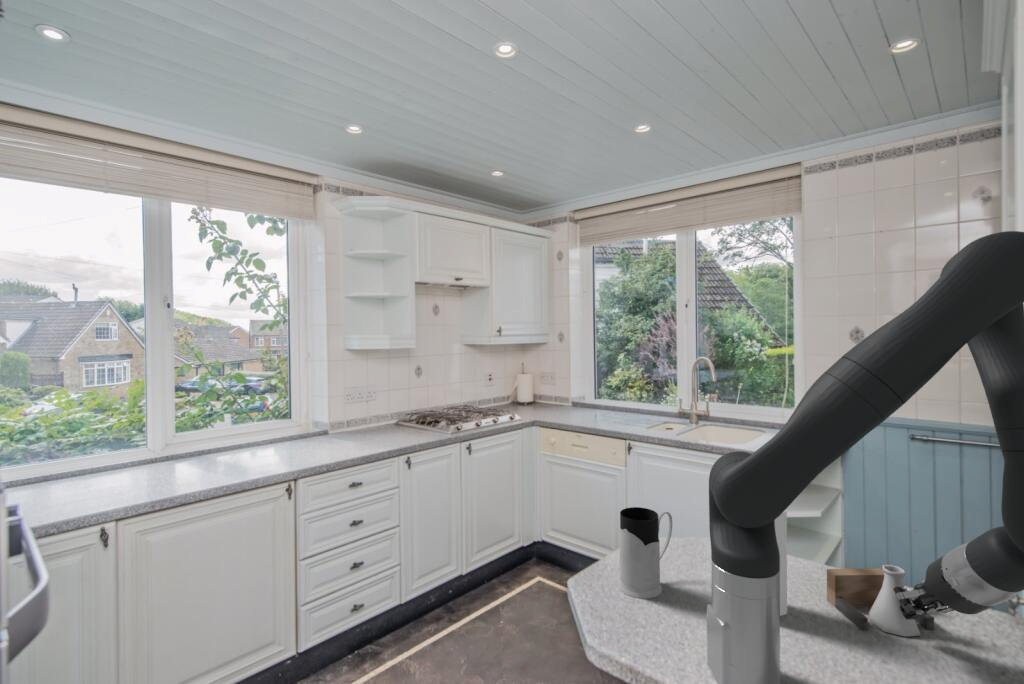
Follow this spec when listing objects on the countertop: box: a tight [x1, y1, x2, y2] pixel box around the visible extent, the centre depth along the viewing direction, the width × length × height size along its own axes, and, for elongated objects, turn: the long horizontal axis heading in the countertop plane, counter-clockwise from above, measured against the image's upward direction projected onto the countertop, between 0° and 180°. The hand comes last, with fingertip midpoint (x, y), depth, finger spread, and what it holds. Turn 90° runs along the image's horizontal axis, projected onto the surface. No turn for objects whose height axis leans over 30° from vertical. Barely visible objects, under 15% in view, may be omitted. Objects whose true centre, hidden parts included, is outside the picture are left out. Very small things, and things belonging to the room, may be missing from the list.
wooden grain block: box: [826, 567, 935, 631], centre depth 91 cm, size 12×10×6 cm
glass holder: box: [617, 506, 673, 600], centre depth 103 cm, size 9×14×15 cm, turn 123°
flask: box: [868, 564, 921, 637], centre depth 87 cm, size 7×7×10 cm
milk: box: [775, 510, 788, 617], centre depth 93 cm, size 6×6×22 cm
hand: (906, 612), depth 84 cm, fingers closed
